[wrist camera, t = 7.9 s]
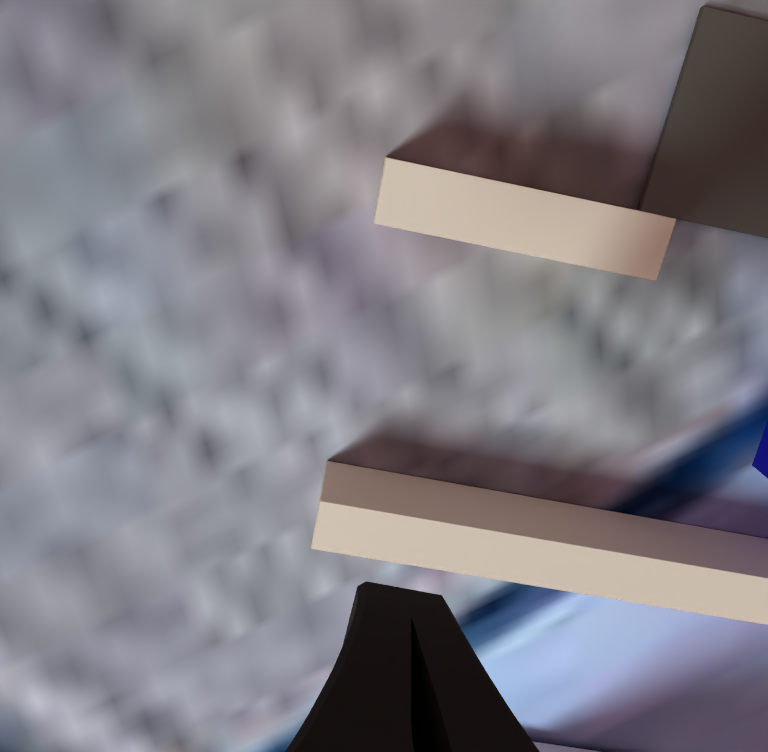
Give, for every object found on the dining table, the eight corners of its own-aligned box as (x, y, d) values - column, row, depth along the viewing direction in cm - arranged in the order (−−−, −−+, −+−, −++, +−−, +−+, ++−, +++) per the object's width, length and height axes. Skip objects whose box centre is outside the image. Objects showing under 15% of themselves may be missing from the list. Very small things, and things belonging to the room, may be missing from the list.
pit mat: (809, 246, 19) (814, 247, 18) (637, 210, 18) (640, 211, 18) (887, 52, 17) (892, 50, 17) (700, 7, 17) (704, 6, 17)
